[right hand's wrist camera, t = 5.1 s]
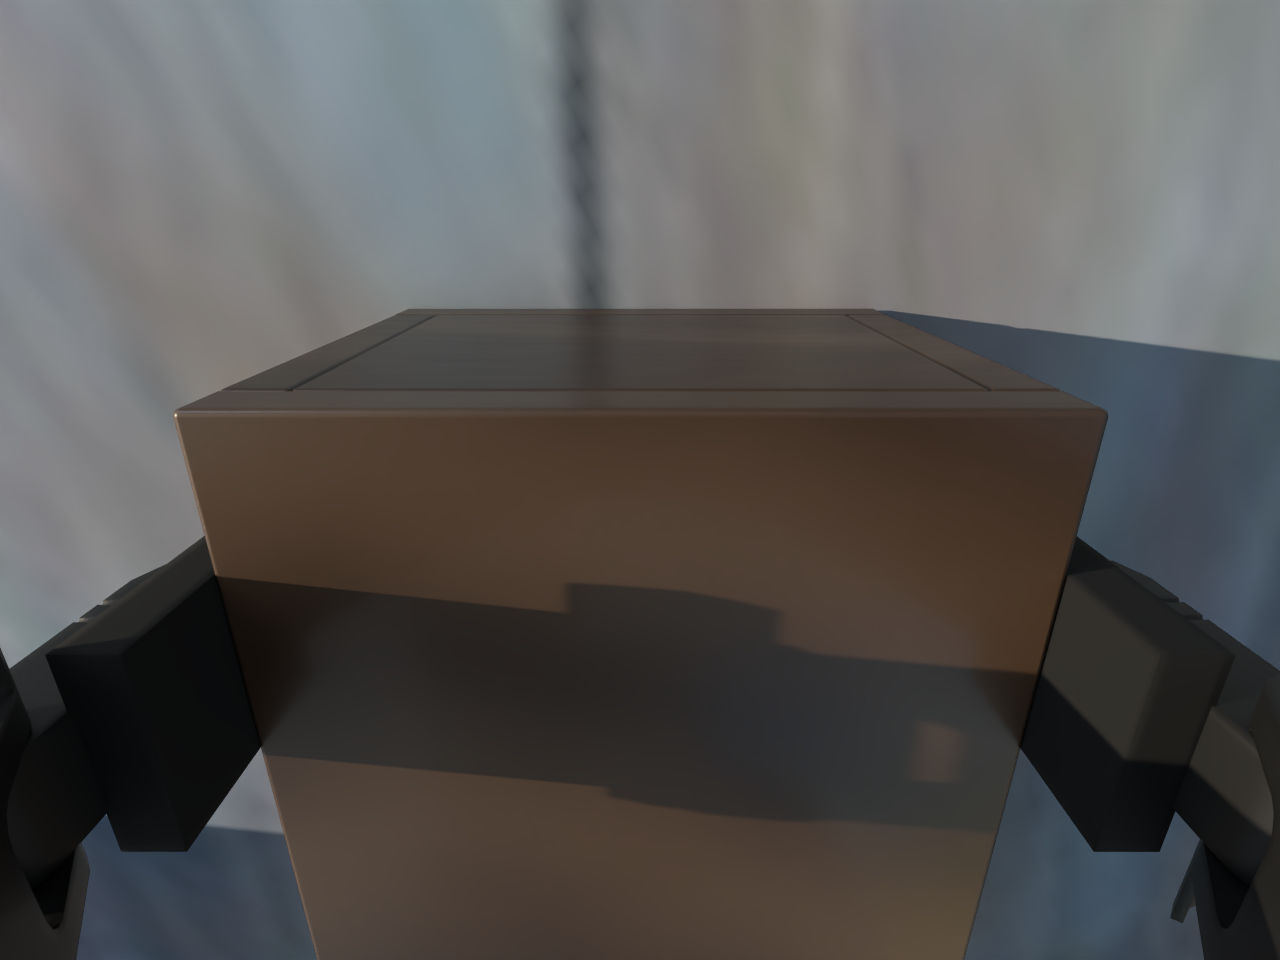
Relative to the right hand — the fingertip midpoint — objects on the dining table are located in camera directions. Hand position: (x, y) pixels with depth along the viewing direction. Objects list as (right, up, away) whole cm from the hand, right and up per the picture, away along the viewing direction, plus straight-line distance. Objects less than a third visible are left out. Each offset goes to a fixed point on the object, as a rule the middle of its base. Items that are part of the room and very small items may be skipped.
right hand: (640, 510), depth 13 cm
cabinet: (0, -6, +6) cm, 8 cm away
